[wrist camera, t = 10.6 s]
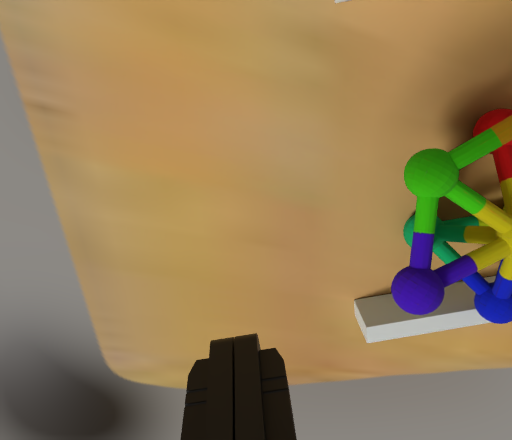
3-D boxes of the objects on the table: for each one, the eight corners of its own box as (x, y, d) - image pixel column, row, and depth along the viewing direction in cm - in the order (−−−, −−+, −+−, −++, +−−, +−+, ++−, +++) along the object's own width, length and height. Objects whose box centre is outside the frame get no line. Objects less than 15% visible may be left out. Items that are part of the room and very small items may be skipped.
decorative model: (691, 159, 21) (534, 380, 23) (529, 134, 28) (420, 302, 30) (634, -2, 14) (414, 332, 16) (440, 21, 22) (305, 246, 23)
